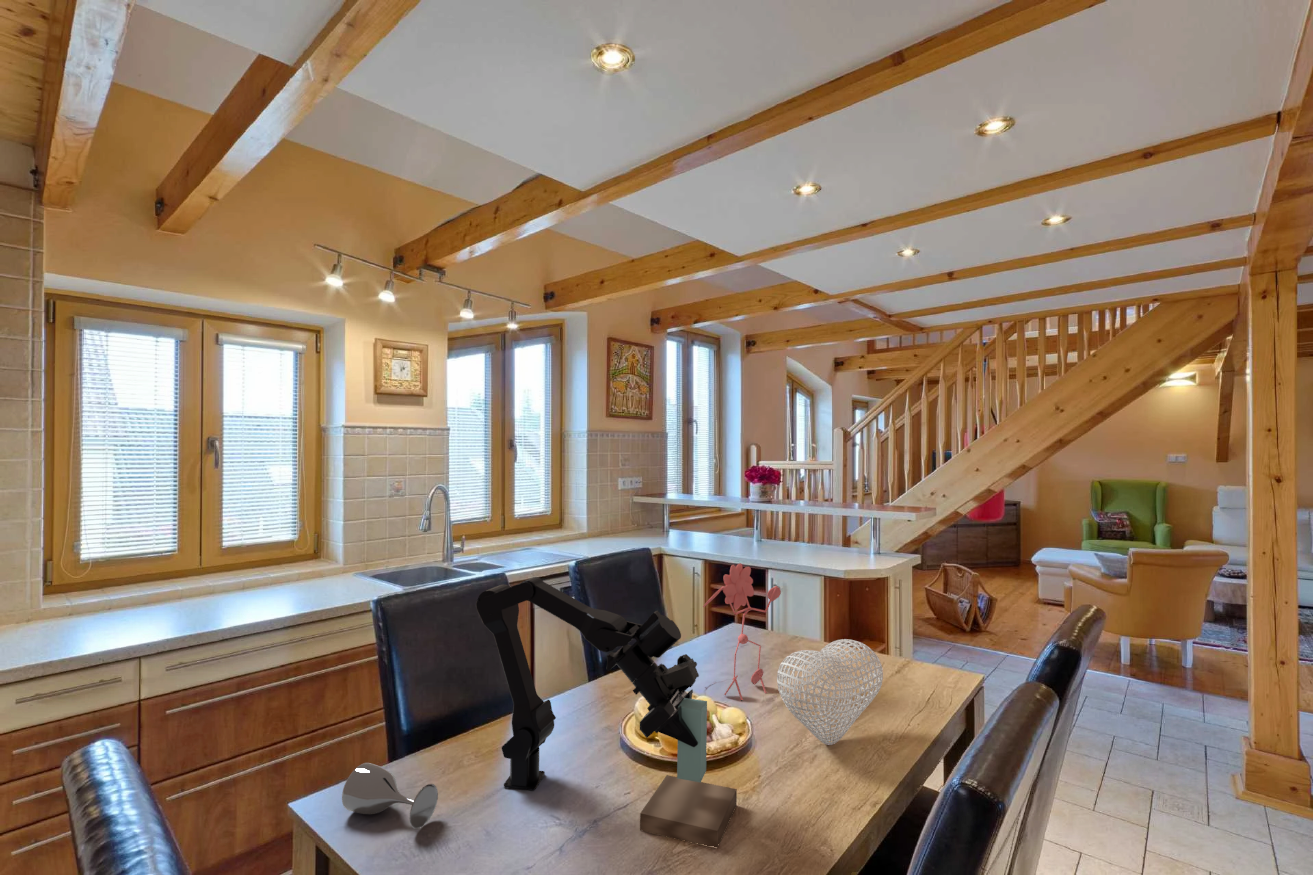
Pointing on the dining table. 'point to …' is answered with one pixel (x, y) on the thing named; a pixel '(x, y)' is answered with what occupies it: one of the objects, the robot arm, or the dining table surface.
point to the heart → (827, 655)
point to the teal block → (694, 758)
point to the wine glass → (385, 794)
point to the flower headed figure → (737, 593)
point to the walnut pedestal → (689, 811)
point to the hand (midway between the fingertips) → (699, 739)
